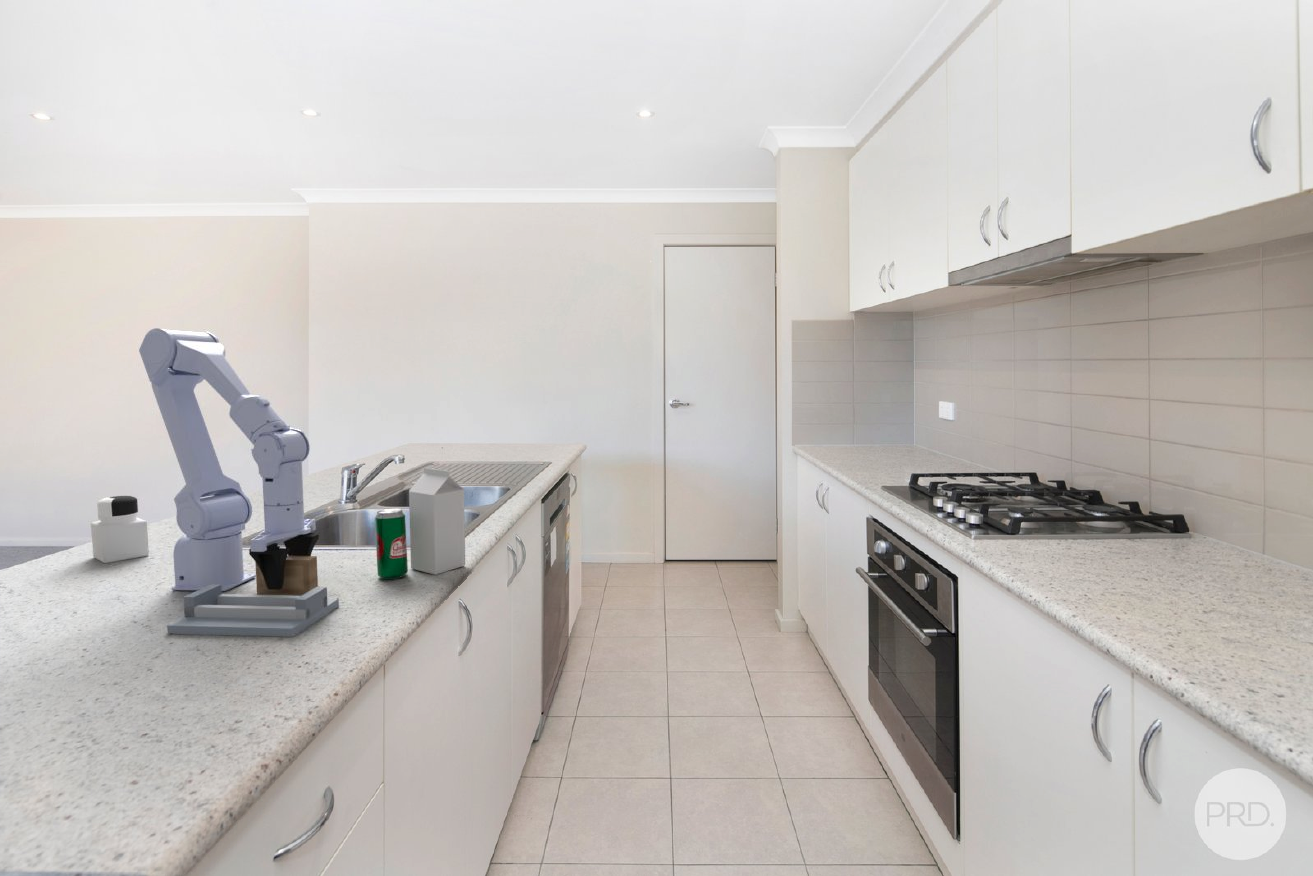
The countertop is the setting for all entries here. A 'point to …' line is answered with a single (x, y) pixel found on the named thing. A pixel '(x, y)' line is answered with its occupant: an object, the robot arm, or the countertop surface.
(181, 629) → the floor track
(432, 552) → the milk carton
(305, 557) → the door slab
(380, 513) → the soda can
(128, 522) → the medicine bottle
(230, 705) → the countertop surface
